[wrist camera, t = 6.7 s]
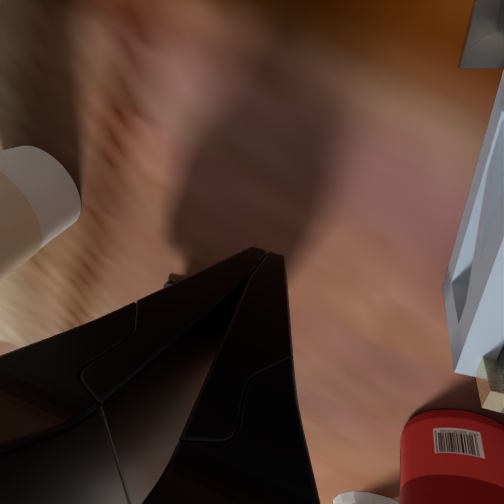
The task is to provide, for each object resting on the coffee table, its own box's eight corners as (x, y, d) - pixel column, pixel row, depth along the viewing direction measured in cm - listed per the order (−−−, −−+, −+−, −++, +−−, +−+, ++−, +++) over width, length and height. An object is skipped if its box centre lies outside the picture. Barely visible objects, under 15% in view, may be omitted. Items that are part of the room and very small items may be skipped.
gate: (505, 63, 13) (558, 86, 9) (543, 62, 13) (620, 85, 8) (442, 287, 19) (454, 372, 14) (467, 291, 19) (487, 379, 14)
